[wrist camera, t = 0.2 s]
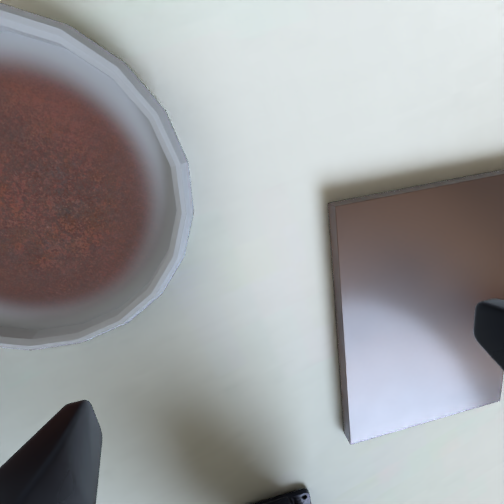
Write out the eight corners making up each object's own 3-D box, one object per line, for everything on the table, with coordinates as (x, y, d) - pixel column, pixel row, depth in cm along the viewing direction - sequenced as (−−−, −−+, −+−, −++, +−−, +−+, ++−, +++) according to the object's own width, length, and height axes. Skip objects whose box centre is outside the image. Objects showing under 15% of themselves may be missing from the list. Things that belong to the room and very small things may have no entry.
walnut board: (488, 391, 31) (500, 401, 30) (344, 433, 29) (350, 445, 28) (514, 167, 24) (530, 168, 23) (327, 202, 22) (335, 206, 21)
